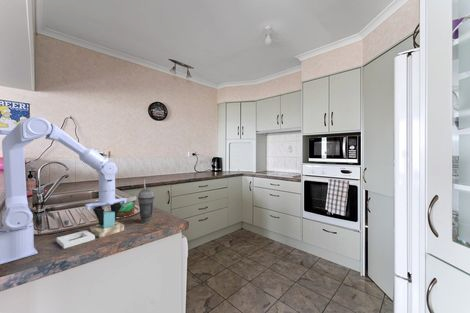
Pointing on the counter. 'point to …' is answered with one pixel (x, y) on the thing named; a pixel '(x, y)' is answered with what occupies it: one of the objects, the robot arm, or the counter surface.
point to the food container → (127, 207)
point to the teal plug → (108, 219)
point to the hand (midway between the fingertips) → (107, 223)
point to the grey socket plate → (65, 243)
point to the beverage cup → (146, 204)
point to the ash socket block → (106, 230)
